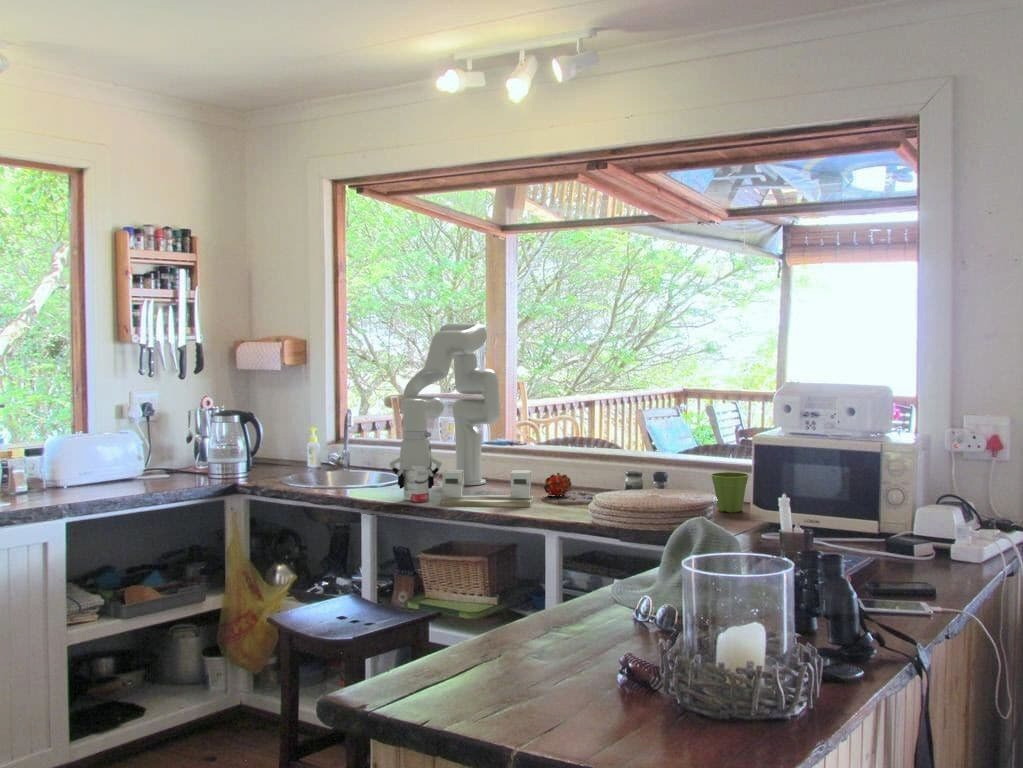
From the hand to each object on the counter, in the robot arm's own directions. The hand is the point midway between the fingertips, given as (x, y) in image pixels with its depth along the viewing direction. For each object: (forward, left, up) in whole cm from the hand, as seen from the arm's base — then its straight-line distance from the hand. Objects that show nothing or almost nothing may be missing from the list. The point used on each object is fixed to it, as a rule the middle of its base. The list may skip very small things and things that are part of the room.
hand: (416, 487), depth 317 cm
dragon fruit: (-12, +46, -4) cm, 48 cm away
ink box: (0, 0, -4) cm, 4 cm away
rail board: (+3, +24, -4) cm, 25 cm away
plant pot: (+12, +100, -4) cm, 101 cm away
